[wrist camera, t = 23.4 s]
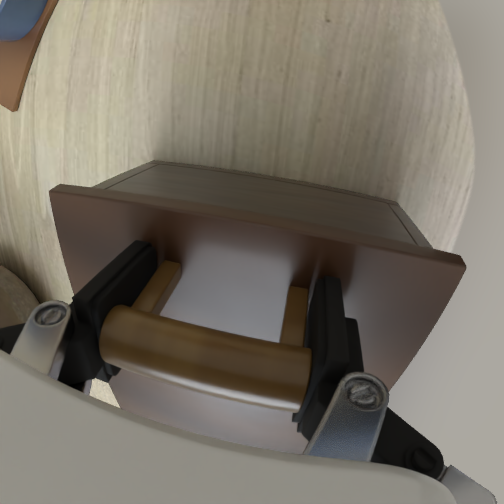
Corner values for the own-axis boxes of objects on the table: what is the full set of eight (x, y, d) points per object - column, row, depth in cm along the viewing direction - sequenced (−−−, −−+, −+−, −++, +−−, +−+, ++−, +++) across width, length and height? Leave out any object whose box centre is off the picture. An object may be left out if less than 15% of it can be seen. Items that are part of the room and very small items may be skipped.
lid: (59, 183, 11) (-32, 248, 7) (460, 254, 9) (516, 368, 5) (126, 404, 21) (100, 457, 17) (329, 451, 19) (322, 513, 15)
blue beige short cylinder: (23, -30, 12) (-12, -36, 8) (63, -28, 13) (25, -38, 9) (-6, 36, 15) (-42, 37, 11) (28, 47, 16) (-13, 48, 12)
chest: (153, 160, 19) (89, 187, 13) (397, 201, 18) (435, 249, 12) (158, 348, 27) (126, 403, 21) (330, 385, 25) (329, 451, 19)
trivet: (6, -52, 11) (3, -53, 10) (92, -58, 12) (88, -60, 11) (-44, 73, 18) (-48, 74, 17) (17, 111, 19) (12, 112, 19)
